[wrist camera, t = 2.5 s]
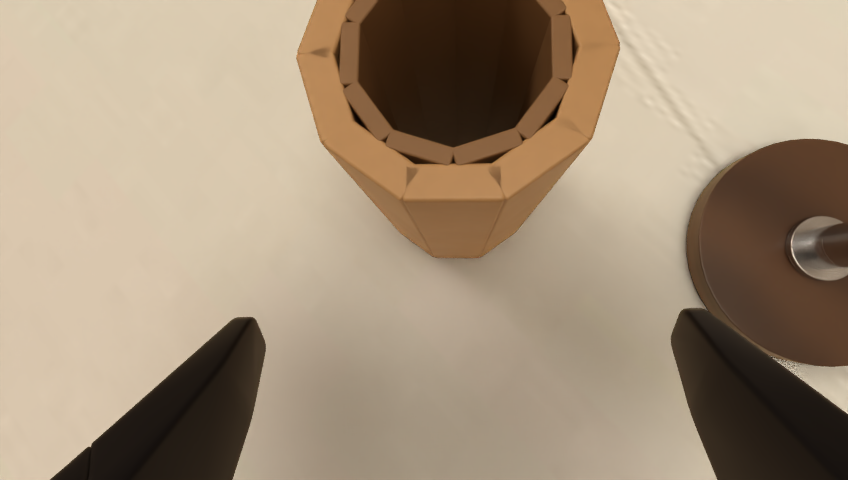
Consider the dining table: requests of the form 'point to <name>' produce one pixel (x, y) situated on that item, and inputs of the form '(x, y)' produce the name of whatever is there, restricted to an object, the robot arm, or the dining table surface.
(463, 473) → the dining table surface
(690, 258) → the brown peg stand
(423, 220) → the tan hollow tube
